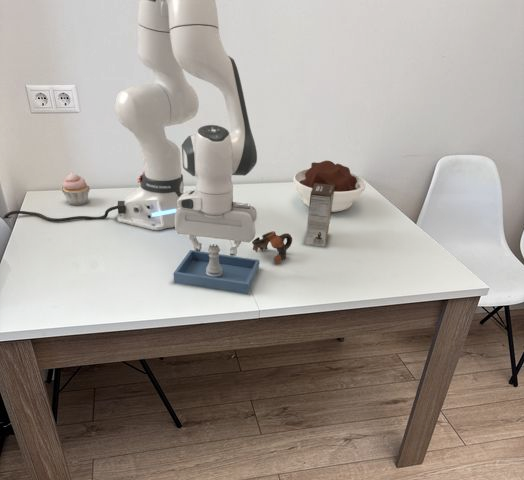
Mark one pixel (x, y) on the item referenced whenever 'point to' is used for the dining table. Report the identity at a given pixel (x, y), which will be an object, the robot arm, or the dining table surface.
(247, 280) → the tray
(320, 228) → the coffee box
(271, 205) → the dining table surface
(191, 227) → the robot arm
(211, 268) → the rook chess piece
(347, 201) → the bowl of brown lumps
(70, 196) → the cupcake
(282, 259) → the broken clay pot
